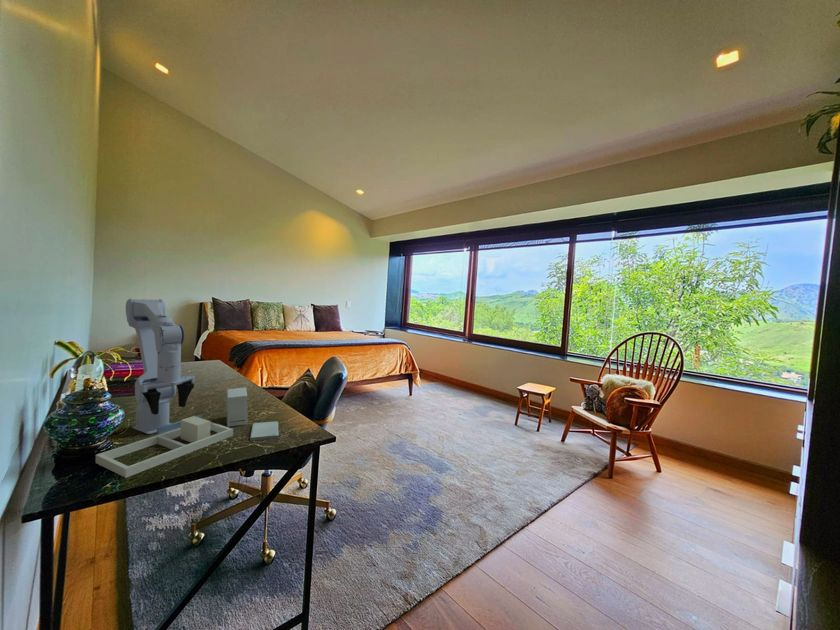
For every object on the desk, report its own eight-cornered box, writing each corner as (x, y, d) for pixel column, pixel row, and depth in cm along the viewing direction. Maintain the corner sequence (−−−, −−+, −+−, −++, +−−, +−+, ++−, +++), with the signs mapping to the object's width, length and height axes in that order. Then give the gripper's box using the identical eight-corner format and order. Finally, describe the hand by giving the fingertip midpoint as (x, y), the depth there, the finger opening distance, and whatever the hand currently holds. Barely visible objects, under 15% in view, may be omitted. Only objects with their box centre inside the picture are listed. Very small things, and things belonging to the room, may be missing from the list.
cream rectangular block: (180, 438, 106) (180, 419, 106) (193, 434, 110) (193, 416, 110) (197, 445, 103) (197, 425, 103) (210, 440, 107) (210, 421, 106)
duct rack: (93, 461, 90) (93, 447, 90) (202, 425, 117) (202, 414, 116) (125, 477, 84) (125, 462, 84) (233, 435, 111) (233, 423, 110)
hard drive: (278, 435, 111) (278, 420, 122) (250, 437, 108) (252, 422, 119) (278, 440, 111) (278, 425, 122) (250, 443, 108) (252, 427, 119)
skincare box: (226, 416, 126) (227, 388, 125) (246, 414, 129) (246, 387, 128) (226, 427, 117) (226, 396, 116) (247, 424, 120) (248, 395, 119)
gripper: (149, 372, 95) (149, 420, 96) (201, 363, 108) (201, 405, 109) (135, 368, 98) (135, 415, 99) (187, 360, 111) (187, 401, 112)
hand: (168, 410), depth 104 cm, fingers open, 7 cm apart
